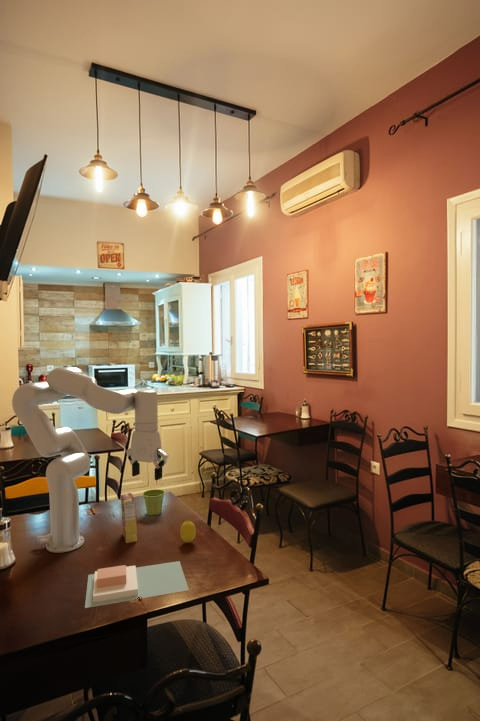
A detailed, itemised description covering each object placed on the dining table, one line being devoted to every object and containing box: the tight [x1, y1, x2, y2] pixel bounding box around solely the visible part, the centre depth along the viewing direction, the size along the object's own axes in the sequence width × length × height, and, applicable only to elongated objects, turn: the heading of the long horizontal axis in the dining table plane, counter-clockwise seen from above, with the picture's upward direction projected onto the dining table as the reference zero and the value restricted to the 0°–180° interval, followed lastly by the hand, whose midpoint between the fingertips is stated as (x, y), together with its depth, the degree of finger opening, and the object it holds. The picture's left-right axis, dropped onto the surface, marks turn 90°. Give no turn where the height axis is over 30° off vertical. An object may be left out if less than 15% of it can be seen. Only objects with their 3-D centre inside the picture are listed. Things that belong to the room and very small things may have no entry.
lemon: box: [179, 520, 197, 544], centre depth 155 cm, size 6×6×8 cm
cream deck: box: [93, 565, 138, 602], centre depth 127 cm, size 12×14×2 cm
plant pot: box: [142, 488, 166, 516], centre depth 184 cm, size 9×9×9 cm
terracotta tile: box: [97, 564, 127, 588], centre depth 126 cm, size 8×6×2 cm
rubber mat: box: [84, 560, 190, 609], centre depth 128 cm, size 28×18×1 cm, turn 106°
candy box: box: [120, 492, 138, 544], centre depth 159 cm, size 9×4×15 cm, turn 23°
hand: (147, 477), depth 147 cm, fingers open, 9 cm apart
